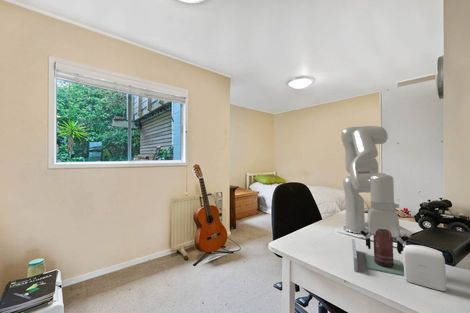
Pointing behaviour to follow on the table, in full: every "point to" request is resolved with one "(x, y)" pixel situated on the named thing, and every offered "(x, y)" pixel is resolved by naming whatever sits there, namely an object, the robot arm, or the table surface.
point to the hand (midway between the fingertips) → (383, 250)
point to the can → (383, 248)
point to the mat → (395, 269)
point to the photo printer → (424, 267)
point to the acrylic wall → (354, 255)
